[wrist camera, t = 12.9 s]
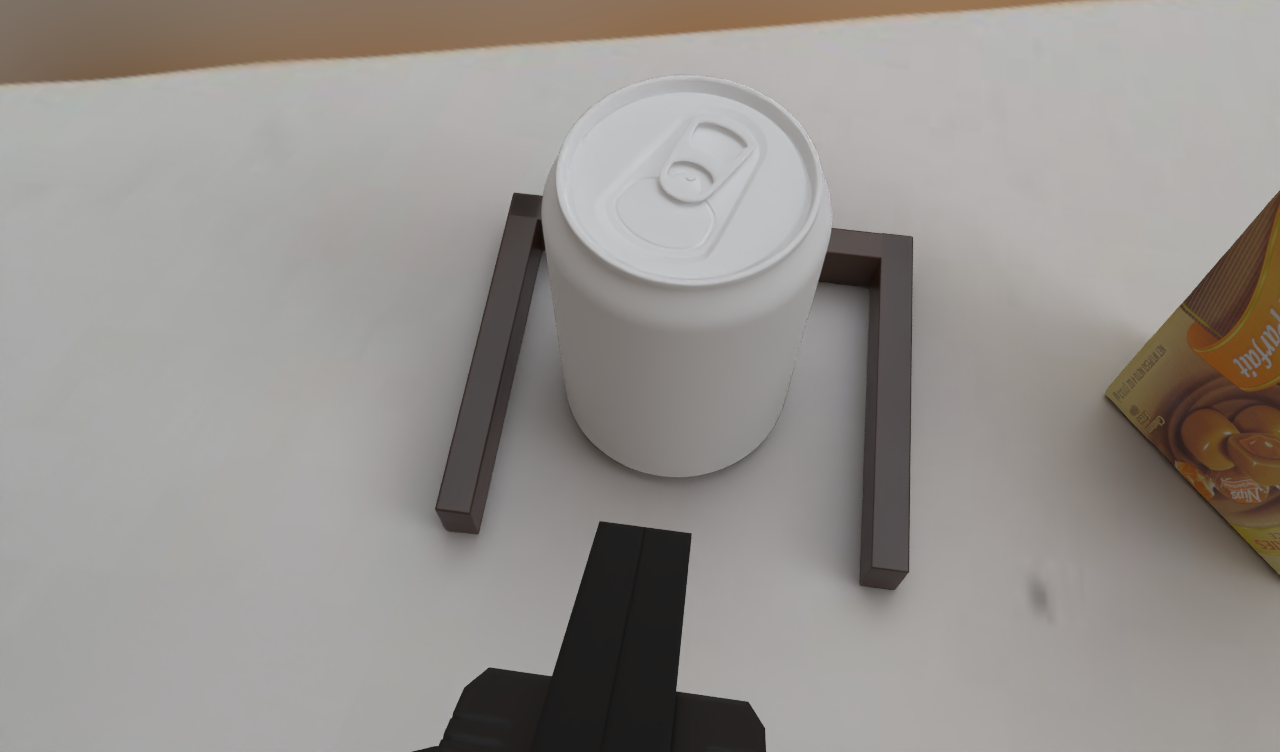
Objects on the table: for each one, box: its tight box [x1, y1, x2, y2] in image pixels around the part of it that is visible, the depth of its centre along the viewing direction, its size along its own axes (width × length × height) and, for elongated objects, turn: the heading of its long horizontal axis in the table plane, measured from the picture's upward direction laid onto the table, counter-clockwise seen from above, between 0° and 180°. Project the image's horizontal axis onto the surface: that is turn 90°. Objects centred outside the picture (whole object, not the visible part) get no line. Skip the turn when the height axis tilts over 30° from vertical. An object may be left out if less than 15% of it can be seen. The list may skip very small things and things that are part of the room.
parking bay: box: [435, 193, 913, 590], centre depth 36 cm, size 15×13×2 cm
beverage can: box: [541, 75, 832, 477], centre depth 32 cm, size 8×8×12 cm
